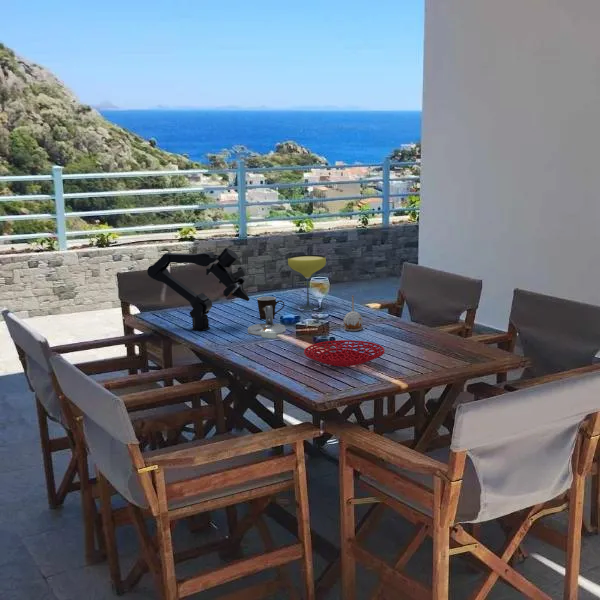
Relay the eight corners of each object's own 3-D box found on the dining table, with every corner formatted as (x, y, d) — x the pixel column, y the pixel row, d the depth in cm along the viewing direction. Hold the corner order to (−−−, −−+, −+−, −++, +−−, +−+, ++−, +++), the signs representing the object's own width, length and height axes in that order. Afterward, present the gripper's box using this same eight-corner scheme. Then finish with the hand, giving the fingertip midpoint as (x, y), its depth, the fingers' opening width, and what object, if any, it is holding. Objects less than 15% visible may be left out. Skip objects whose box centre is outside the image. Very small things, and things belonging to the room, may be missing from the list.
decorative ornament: (365, 330, 347) (364, 296, 344) (348, 332, 345) (347, 297, 342) (358, 326, 354) (357, 293, 351) (341, 328, 352) (340, 294, 349)
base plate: (233, 336, 344) (232, 326, 343) (261, 326, 361) (260, 317, 360) (272, 341, 333) (272, 331, 332) (299, 330, 350) (298, 321, 349)
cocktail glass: (327, 312, 385) (326, 259, 380) (289, 313, 385) (287, 260, 380) (326, 304, 402) (325, 254, 397) (290, 305, 403) (288, 255, 398)
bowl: (325, 379, 280) (325, 365, 279) (291, 359, 307) (291, 346, 306) (399, 367, 292) (399, 354, 291) (361, 349, 318) (361, 336, 317)
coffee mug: (254, 321, 370) (253, 299, 368) (262, 317, 378) (261, 296, 376) (278, 322, 366) (277, 301, 364) (285, 318, 374) (285, 297, 372)
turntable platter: (281, 335, 338) (280, 313, 336) (243, 335, 341) (242, 313, 339) (288, 326, 353) (288, 305, 351) (252, 326, 356) (251, 305, 354)
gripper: (229, 265, 339) (256, 291, 340) (240, 258, 357) (266, 283, 358) (212, 283, 342) (238, 309, 343) (224, 276, 360) (249, 300, 361)
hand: (248, 300), depth 351 cm, fingers closed
